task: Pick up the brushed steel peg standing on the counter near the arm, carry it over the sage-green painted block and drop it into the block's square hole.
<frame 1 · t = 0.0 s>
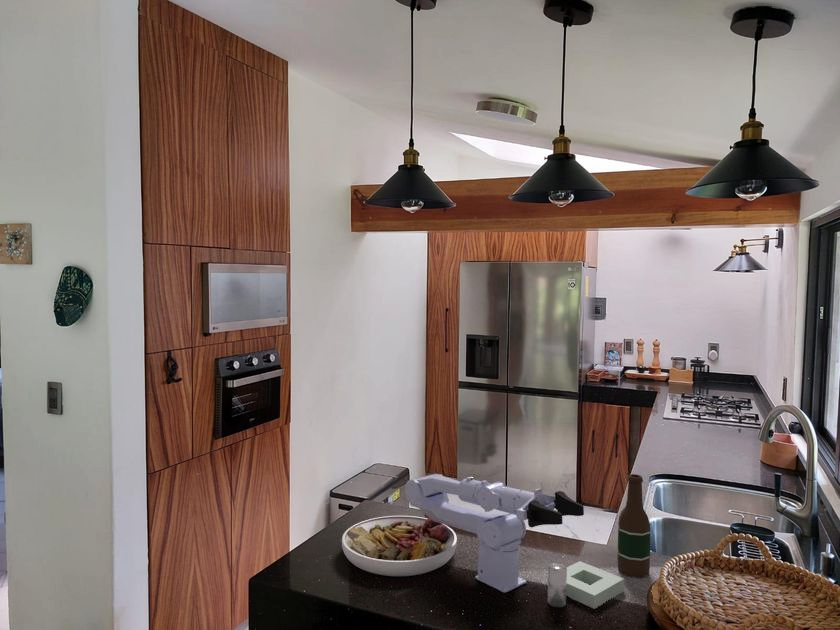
hand: (572, 514, 130), 22 cm above the countertop, tool horizontal, fingers open, 7 cm apart
beer bottle: (633, 572, 152), on the countertop
bowl: (399, 555, 161), on the countertop
steel peg: (556, 602, 136), on the countertop
hole block: (586, 589, 142), on the countertop
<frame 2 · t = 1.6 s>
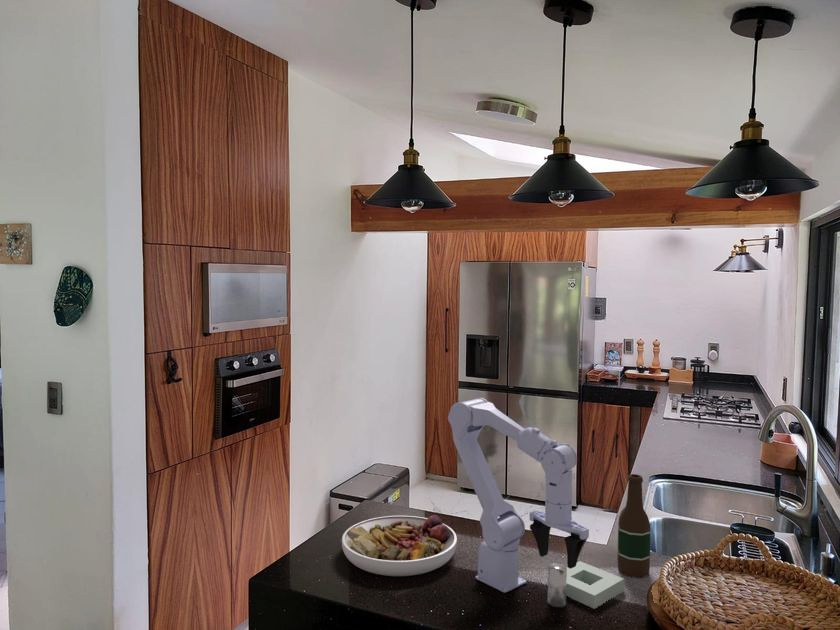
hand: (557, 560, 136), 9 cm above the countertop, tool pointing down, fingers open, 7 cm apart
nothing on the countertop moved.
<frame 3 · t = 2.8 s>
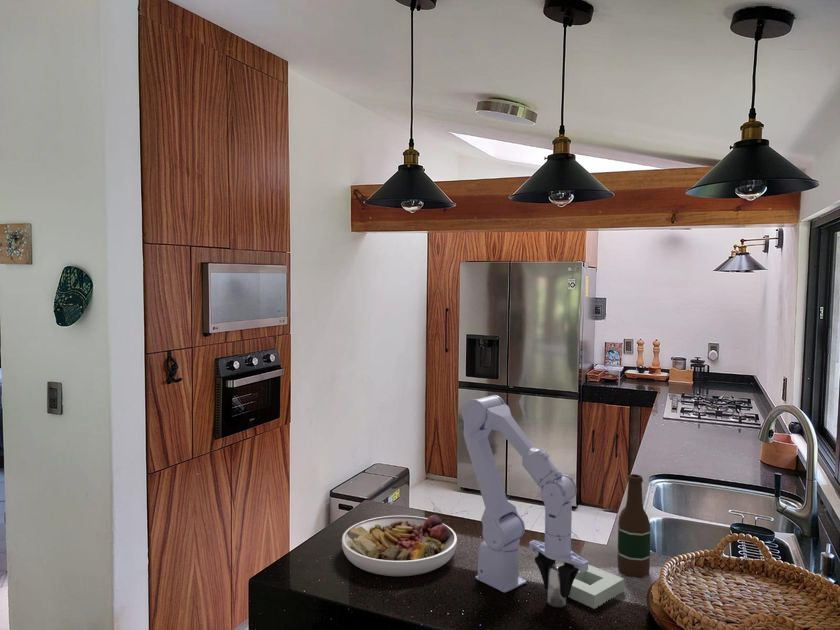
hand: (557, 591, 136), 2 cm above the countertop, tool pointing down, fingers closed on steel peg, 4 cm apart
steel peg: (556, 602, 136), on the countertop, touching gripper
everything else where it was.
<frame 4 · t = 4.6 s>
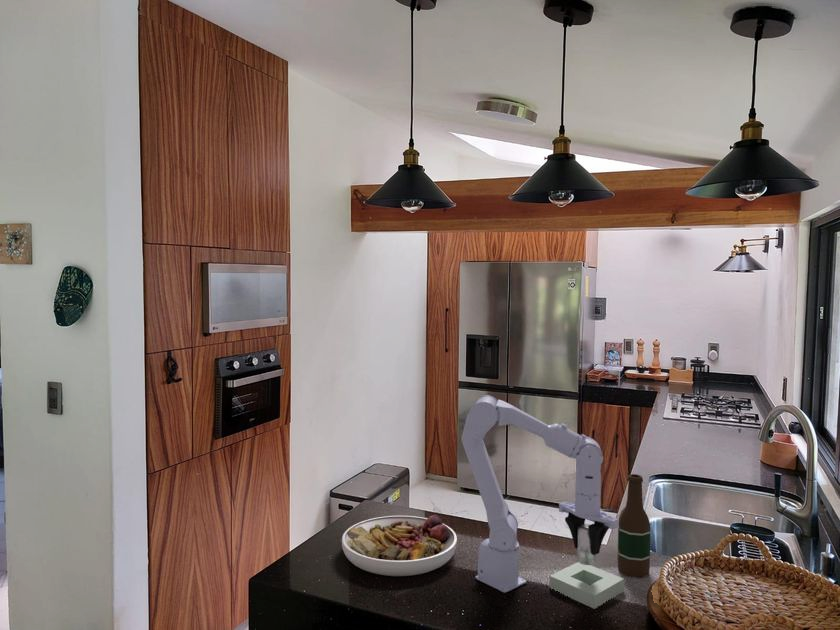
hand: (586, 550, 141), 9 cm above the countertop, tool pointing down, fingers closed on steel peg, 4 cm apart
steel peg: (586, 561, 141), point 7 cm above the countertop, touching gripper
everything else where it was.
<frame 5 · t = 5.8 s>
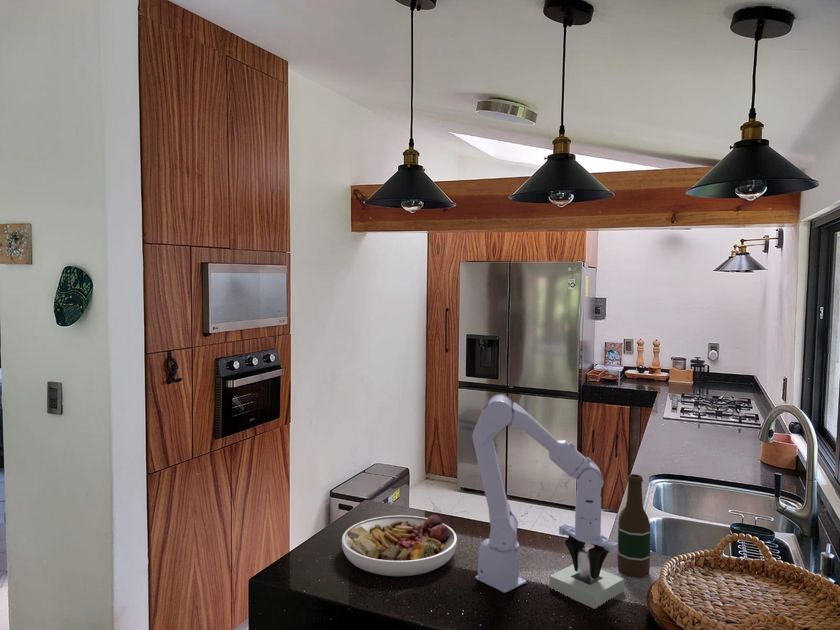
hand: (586, 573, 142), 4 cm above the countertop, tool pointing down, fingers closed on steel peg, 4 cm apart
steel peg: (586, 584, 142), point 1 cm above the countertop, touching gripper
everything else where it was.
when the fingers open (4 cm above the countertop, at t = 6.5 s): steel peg drops 1 cm, resting in hole block.
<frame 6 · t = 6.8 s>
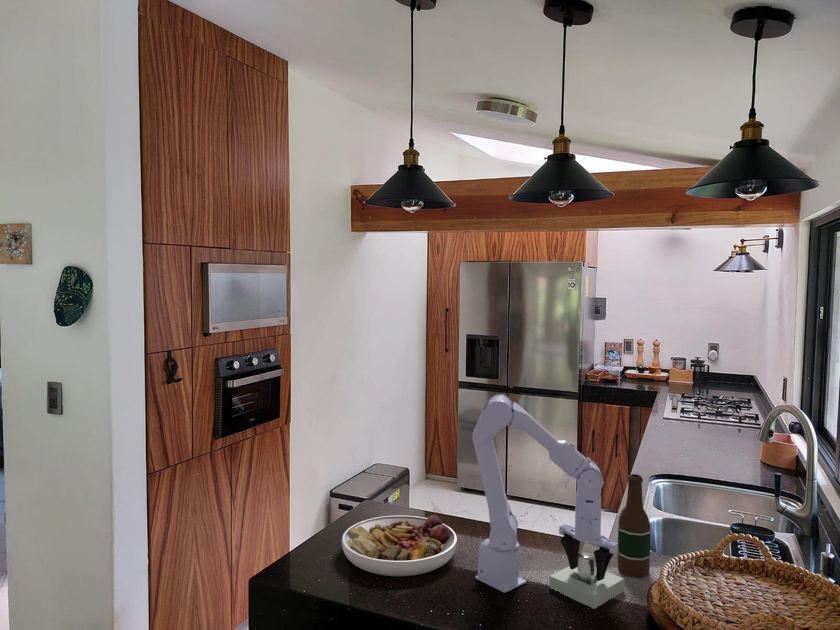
hand: (586, 573, 142), 4 cm above the countertop, tool pointing down, fingers open, 7 cm apart
steel peg: (586, 590, 142), resting in hole block
everything else where it was.
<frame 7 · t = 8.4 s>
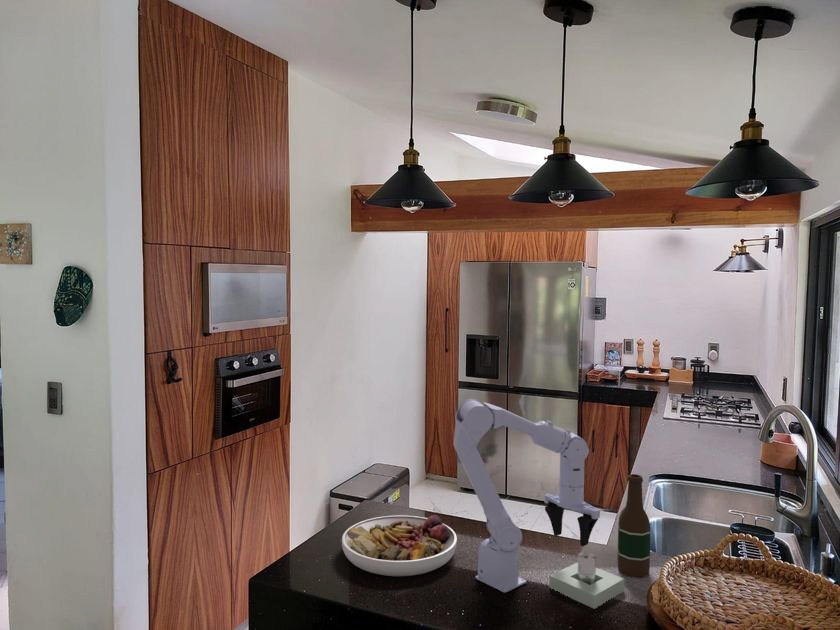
hand: (570, 539, 147), 9 cm above the countertop, tool pointing down, fingers open, 7 cm apart
nothing on the countertop moved.
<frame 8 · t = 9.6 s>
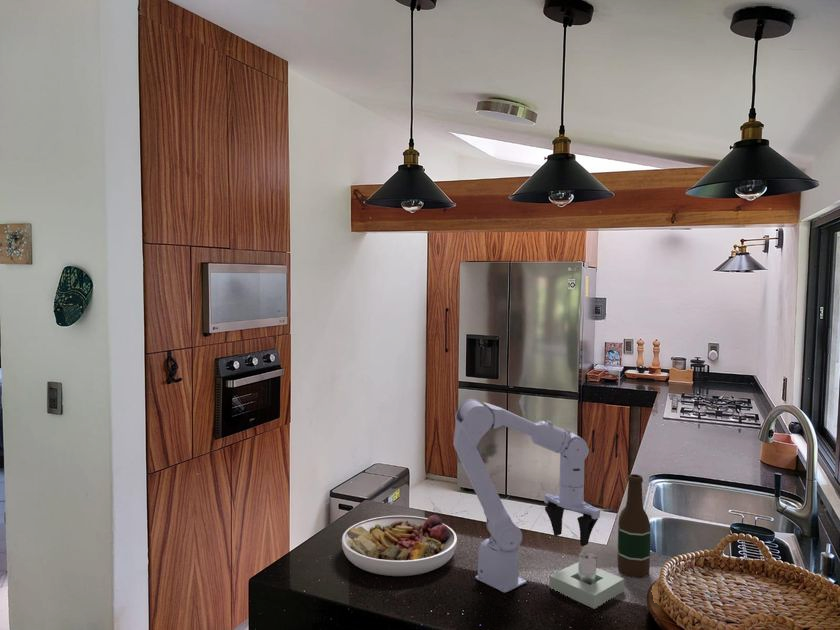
hand: (570, 539, 147), 9 cm above the countertop, tool pointing down, fingers open, 7 cm apart
nothing on the countertop moved.
at the end: steel peg 0.1 cm from the hole block (horizontally); steel peg resting in hole block; steel peg tilted 1° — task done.
